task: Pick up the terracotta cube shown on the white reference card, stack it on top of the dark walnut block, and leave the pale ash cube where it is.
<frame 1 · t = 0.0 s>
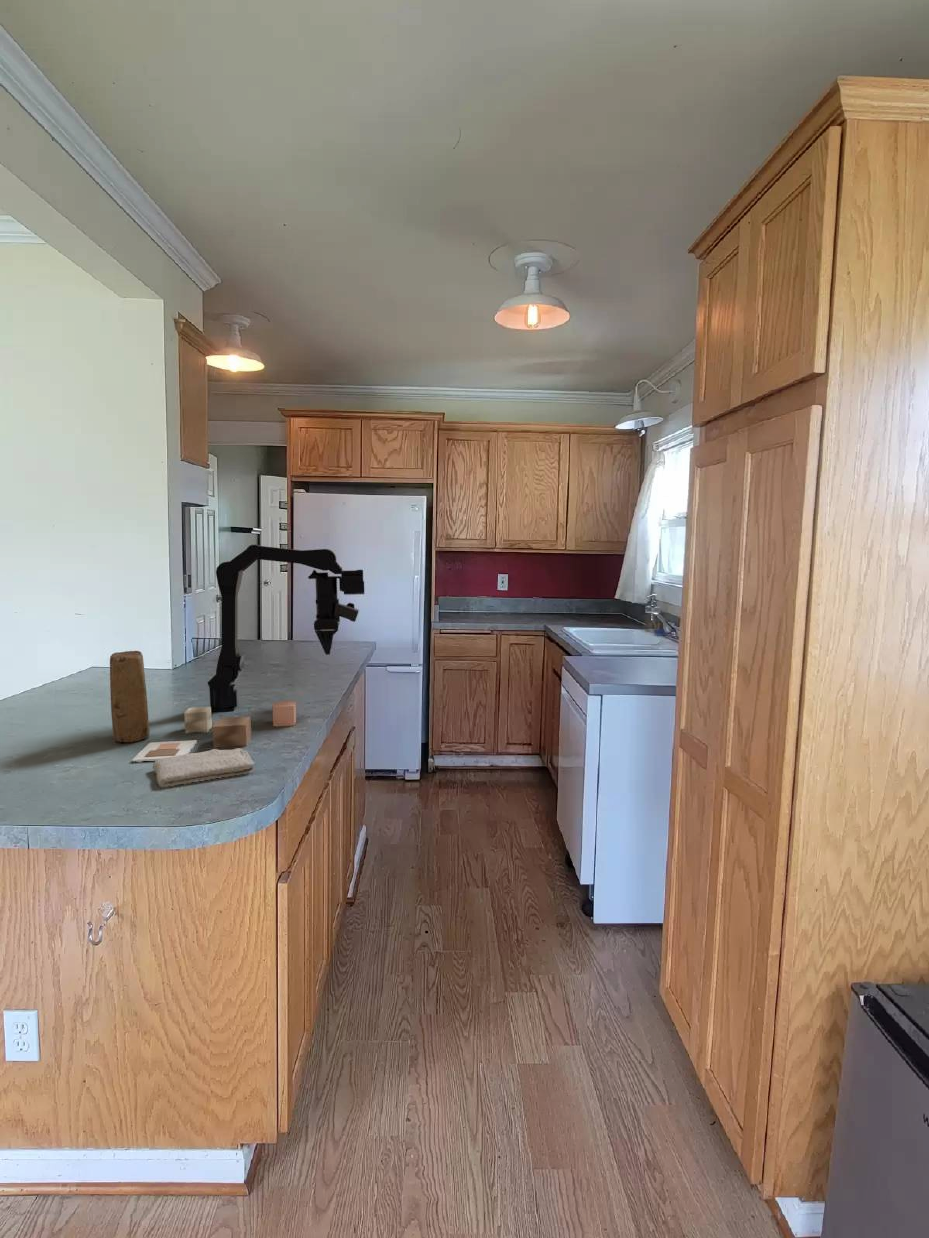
hand: (328, 651, 184), 15 cm above the countertop, tool pointing down, fingers open, 9 cm apart
walnut block: (233, 742, 151), on the countertop
washcloth: (205, 774, 132), on the countertop
ash cube: (198, 730, 161), on the countertop
terracotta cube: (285, 723, 166), on the countertop
reference card: (166, 752, 144), on the countertop
block: (131, 738, 155), on the countertop
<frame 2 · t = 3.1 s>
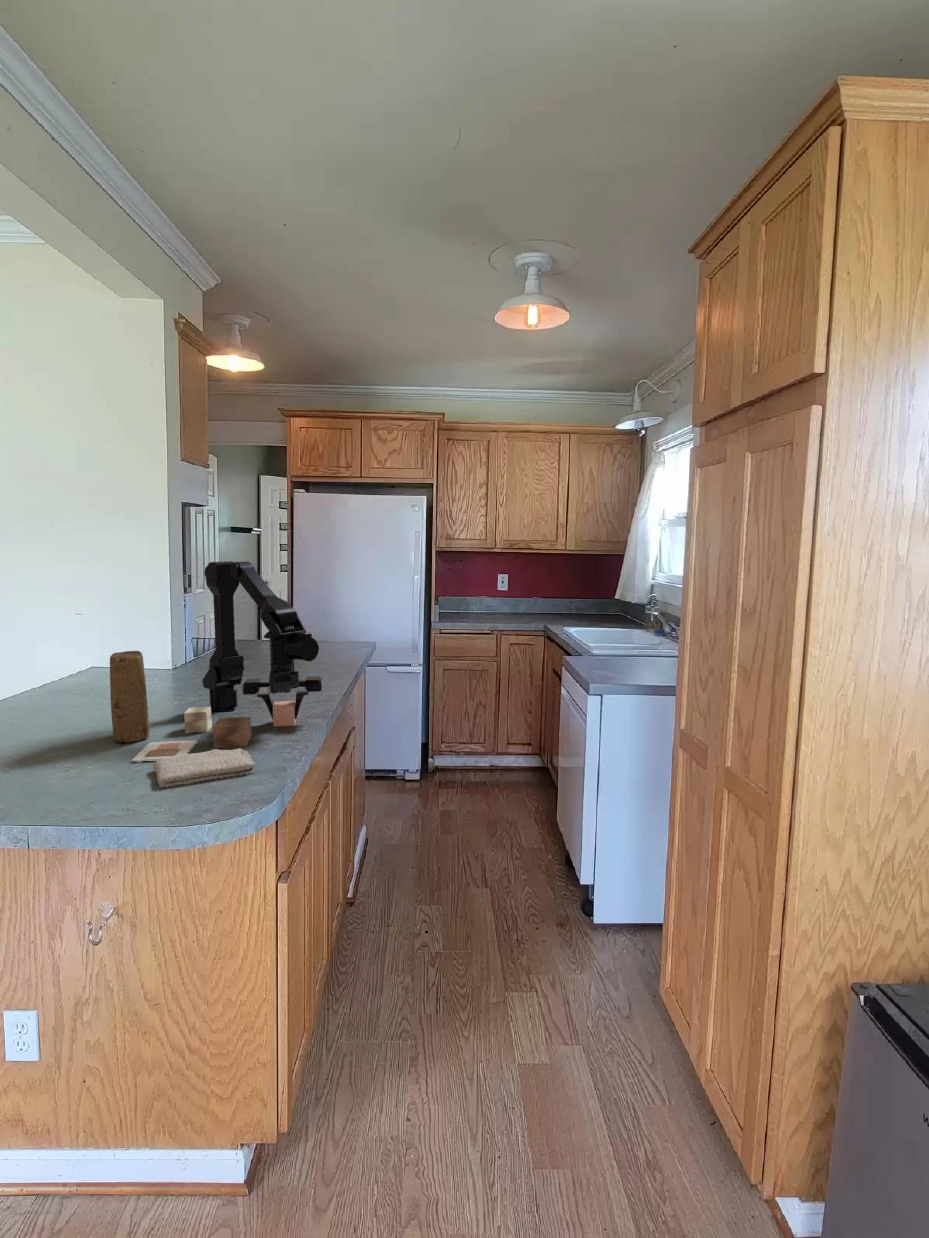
hand: (284, 719, 166), 1 cm above the countertop, tool pointing down, fingers closed on terracotta cube, 5 cm apart
terracotta cube: (285, 723, 166), on the countertop, touching gripper
everything else where it was.
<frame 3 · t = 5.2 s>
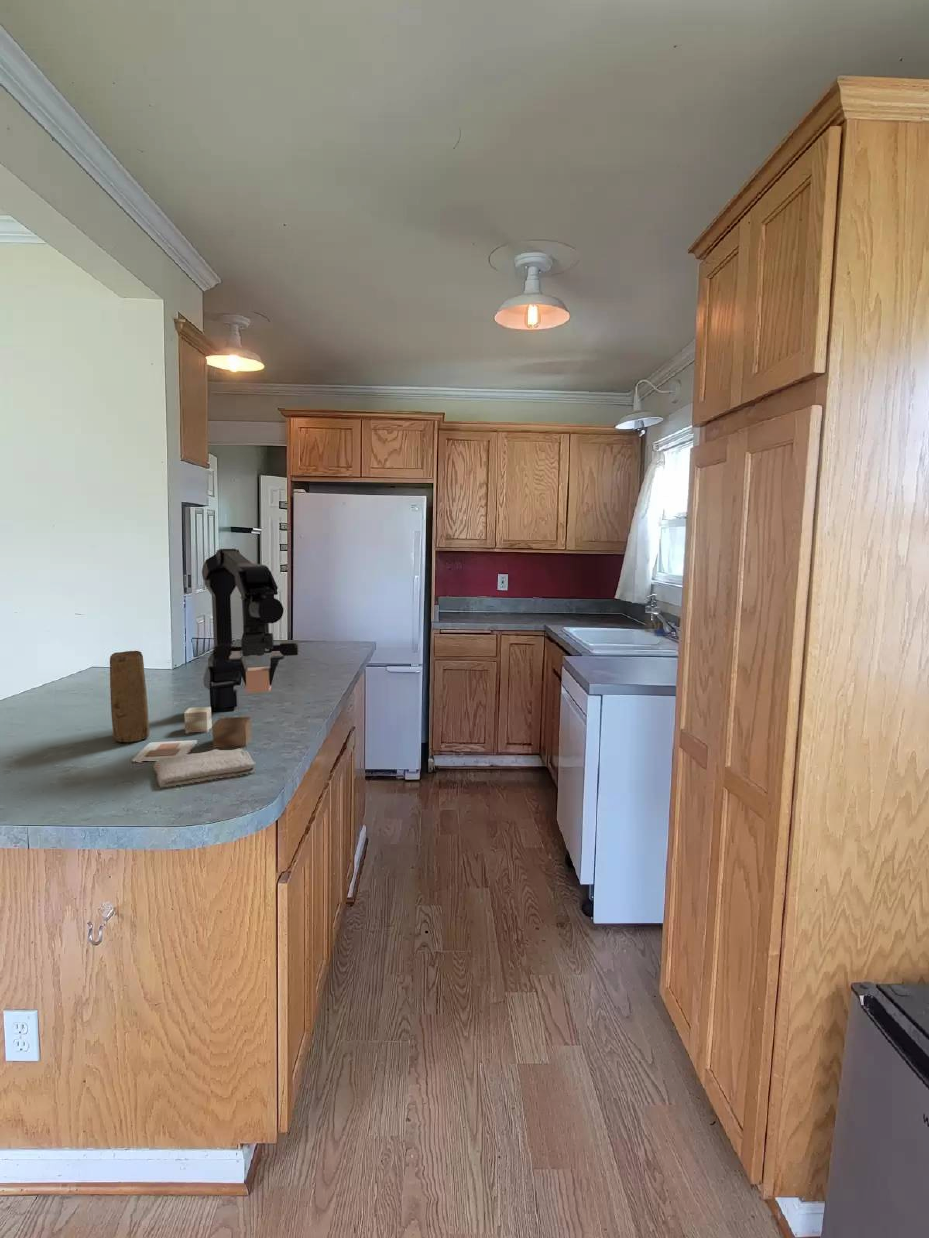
hand: (258, 685, 157), 11 cm above the countertop, tool pointing down, fingers closed on terracotta cube, 5 cm apart
terracotta cube: (259, 690, 157), point 10 cm above the countertop, touching gripper
everything else where it was.
when the fingers open (8 cm above the countertop, at t = 7.2 s): terracotta cube drops 2 cm, resting on walnut block.
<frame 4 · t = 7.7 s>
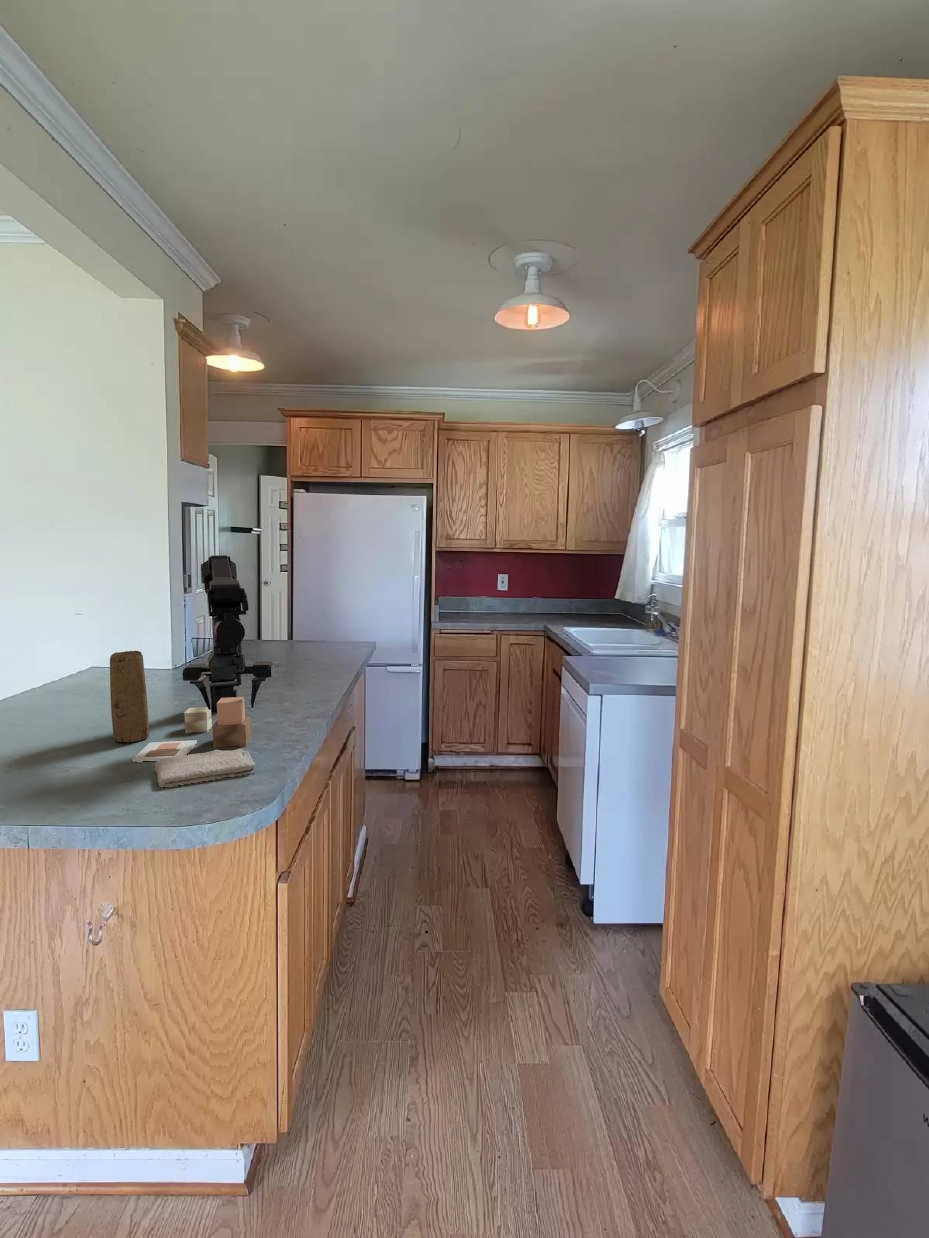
hand: (231, 708, 150), 8 cm above the countertop, tool pointing down, fingers open, 9 cm apart
walnut block: (233, 742, 151), on the countertop, touching terracotta cube
terracotta cube: (231, 721, 150), point 5 cm above the countertop, touching walnut block
everything else where it was.
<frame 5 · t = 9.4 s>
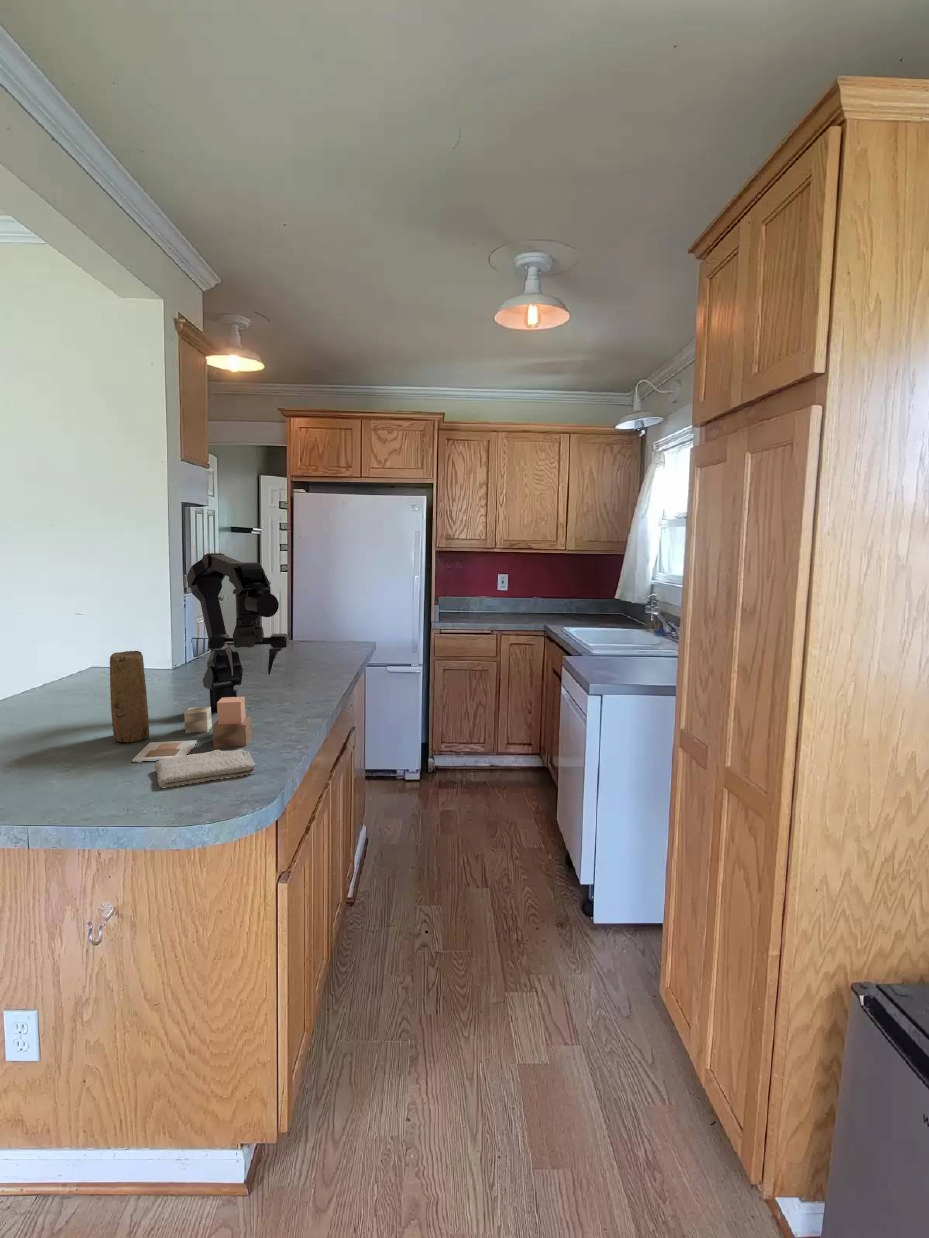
hand: (250, 674, 167), 12 cm above the countertop, tool pointing down, fingers open, 9 cm apart
walnut block: (233, 742, 151), on the countertop
terracotta cube: (232, 721, 150), point 5 cm above the countertop
everything else where it was.
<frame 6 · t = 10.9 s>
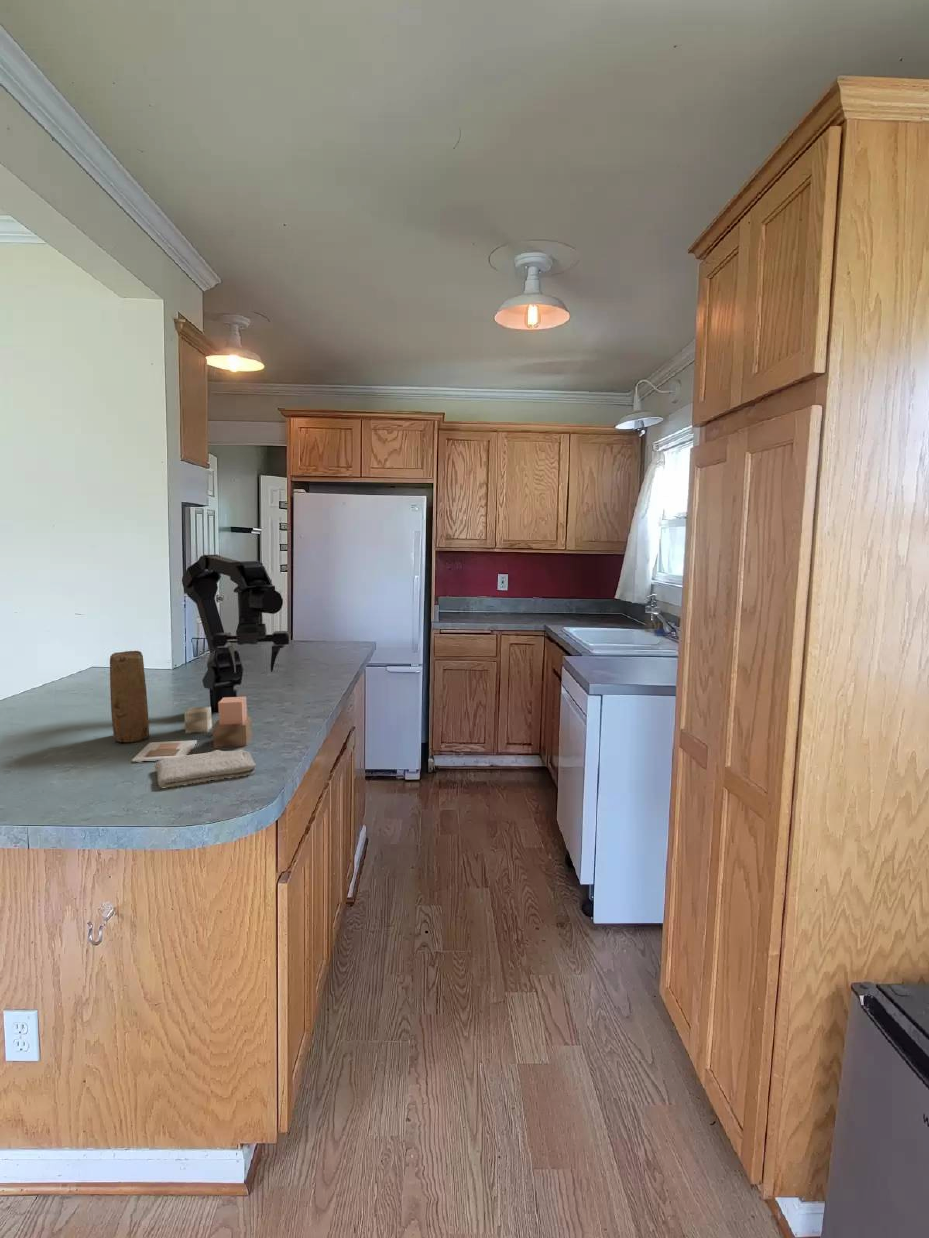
hand: (253, 672, 169), 12 cm above the countertop, tool pointing down, fingers open, 9 cm apart
nothing on the countertop moved.
at the end: terracotta cube 0.2 cm off-centre on the walnut block, point 5.0 cm above the walnut block's base; terracotta cube tilted 0°; the gripper is holding nothing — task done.
